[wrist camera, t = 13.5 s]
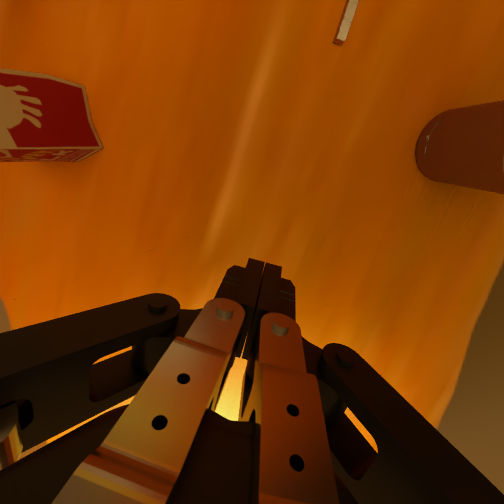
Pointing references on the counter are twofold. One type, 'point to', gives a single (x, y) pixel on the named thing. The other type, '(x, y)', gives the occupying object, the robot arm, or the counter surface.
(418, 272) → the counter surface
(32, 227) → the counter surface
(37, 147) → the milk carton
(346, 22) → the metal staple
